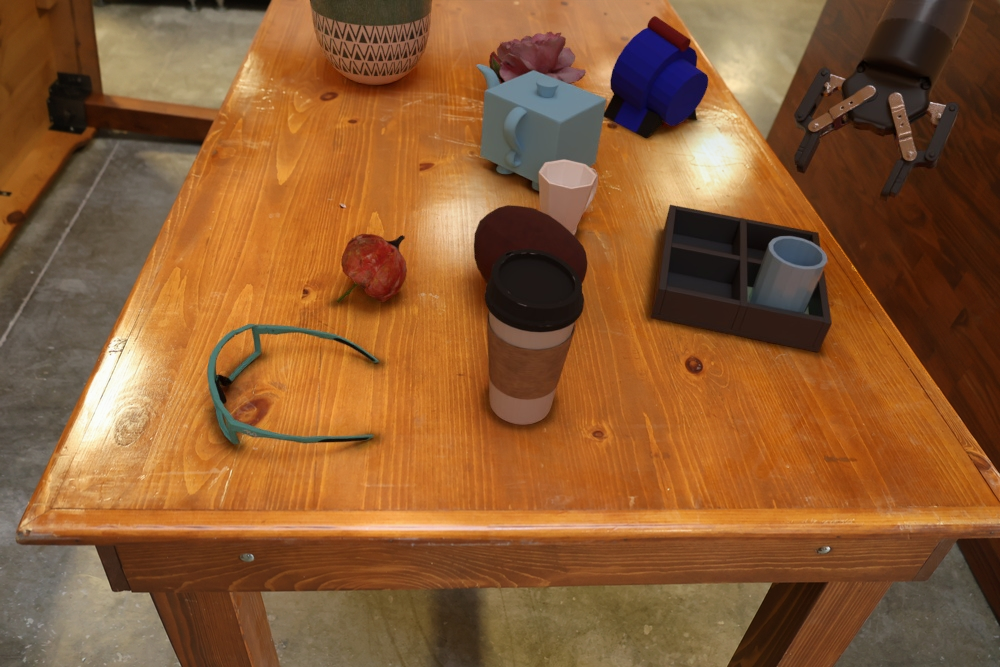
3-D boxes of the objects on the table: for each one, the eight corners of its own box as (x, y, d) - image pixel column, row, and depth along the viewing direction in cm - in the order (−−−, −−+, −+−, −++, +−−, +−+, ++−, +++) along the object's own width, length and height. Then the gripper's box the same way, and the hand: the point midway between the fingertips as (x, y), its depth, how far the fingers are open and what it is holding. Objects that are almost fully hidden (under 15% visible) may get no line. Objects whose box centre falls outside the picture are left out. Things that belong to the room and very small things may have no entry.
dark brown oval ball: (545, 348, 79) (558, 266, 73) (446, 294, 85) (450, 214, 78) (600, 299, 86) (617, 220, 80) (506, 252, 92) (514, 175, 85)
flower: (603, 80, 126) (594, 18, 121) (544, 116, 119) (531, 51, 113) (538, 76, 136) (526, 18, 130) (479, 108, 129) (464, 48, 123)
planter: (410, 51, 137) (410, -83, 123) (450, 96, 124) (456, -48, 110) (300, 60, 130) (287, -80, 116) (331, 109, 117) (321, -42, 103)
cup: (519, 229, 96) (526, 171, 91) (568, 201, 102) (577, 145, 97) (563, 253, 93) (573, 194, 87) (611, 223, 99) (623, 166, 93)
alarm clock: (648, 97, 130) (668, 5, 120) (707, 125, 123) (733, 30, 113) (599, 113, 123) (616, 18, 113) (658, 144, 117) (681, 45, 107)
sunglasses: (225, 346, 76) (223, 307, 72) (378, 359, 78) (382, 321, 75) (192, 457, 65) (188, 416, 62) (371, 468, 68) (375, 429, 64)
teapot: (603, 167, 110) (620, 79, 101) (537, 207, 100) (549, 114, 92) (506, 124, 118) (513, 39, 109) (436, 157, 108) (438, 67, 100)
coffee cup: (524, 360, 78) (541, 235, 68) (582, 409, 73) (609, 283, 63) (458, 394, 73) (465, 266, 64) (515, 449, 69) (533, 320, 59)
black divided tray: (807, 260, 96) (818, 232, 93) (818, 352, 82) (832, 323, 80) (662, 232, 98) (669, 204, 95) (650, 317, 85) (658, 288, 82)
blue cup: (800, 300, 88) (824, 242, 83) (803, 333, 83) (829, 273, 78) (746, 289, 89) (768, 231, 83) (747, 321, 84) (769, 261, 79)
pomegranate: (365, 337, 82) (436, 277, 81) (317, 297, 77) (392, 233, 76) (351, 301, 87) (418, 244, 86) (306, 262, 83) (376, 201, 82)
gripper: (843, 0, 77) (770, 150, 78) (998, 35, 71) (915, 197, 72) (844, 36, 84) (777, 173, 85) (986, 71, 77) (911, 218, 78)
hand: (840, 184), depth 78 cm, fingers open, 8 cm apart
